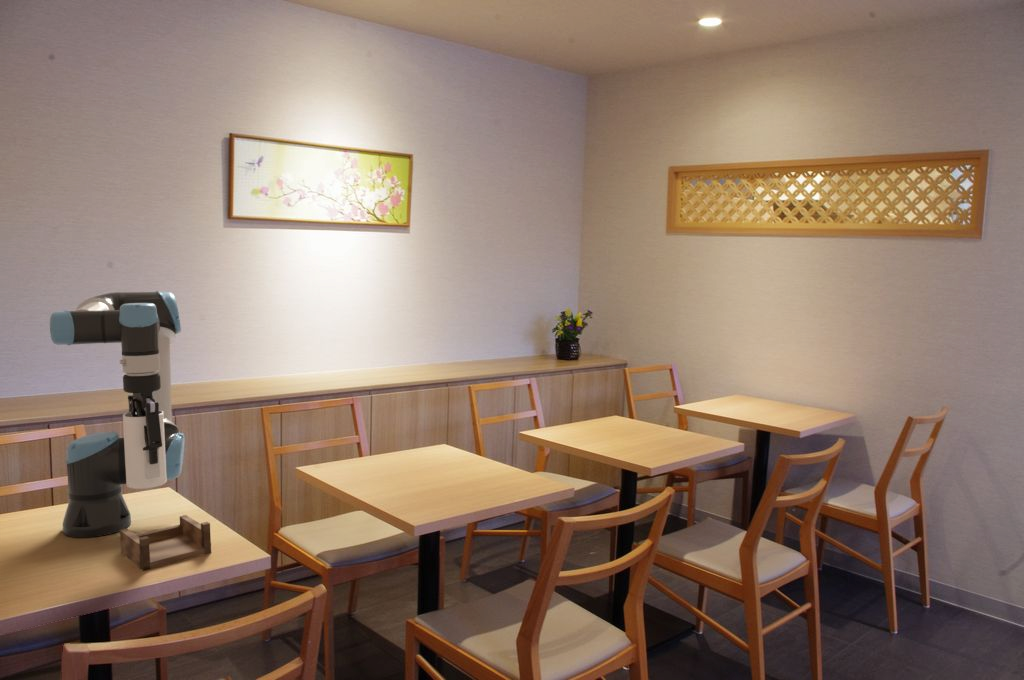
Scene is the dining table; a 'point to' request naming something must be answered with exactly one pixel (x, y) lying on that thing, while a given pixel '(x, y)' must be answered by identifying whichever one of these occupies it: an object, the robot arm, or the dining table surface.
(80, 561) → the dining table surface
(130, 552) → the tray
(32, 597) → the dining table surface
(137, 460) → the cup
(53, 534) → the dining table surface
